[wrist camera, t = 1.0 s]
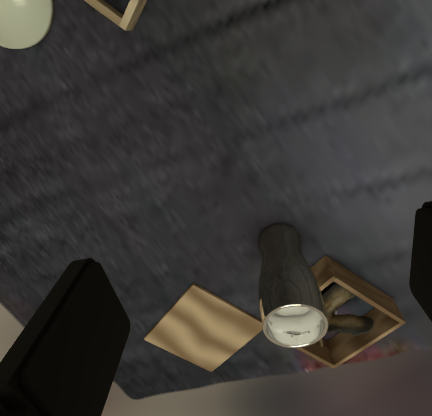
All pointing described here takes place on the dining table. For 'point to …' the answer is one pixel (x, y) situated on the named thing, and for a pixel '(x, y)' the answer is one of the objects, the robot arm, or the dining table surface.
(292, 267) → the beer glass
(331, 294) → the eagle figurine
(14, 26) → the coaster
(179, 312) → the wooden board
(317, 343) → the display tray
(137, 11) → the holder
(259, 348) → the dining table surface
